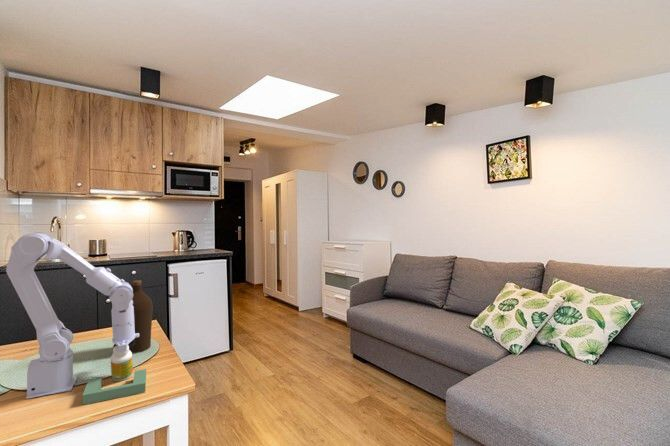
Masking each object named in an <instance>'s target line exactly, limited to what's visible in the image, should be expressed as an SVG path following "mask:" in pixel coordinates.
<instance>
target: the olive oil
mask: <svg viewBox="0 0 670 446" xmlns="http://www.w3.org/2000/svg"><path fill="white" fill-rule="evenodd" d="M142 281H143V280H137V279H136V280H132V281H131V284H130V285H131V287H132V289H133V298H132V300H133V307H134V326H135V333H139V337H137V338H134V339H135V345H134V347H133V349H132V354H136V353H141V352H144V351H147V350H149V349H150V348H151V346H152V345H151V344H152V343H151V342H152V324H153V311H154V305H153V300H152V298H151V297H150V296H149V295H147V294H146V293H145V292H144V291H143V290H142V289H143V284H142Z"/></svg>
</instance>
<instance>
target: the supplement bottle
mask: <svg viewBox="0 0 670 446" xmlns="http://www.w3.org/2000/svg"><path fill="white" fill-rule="evenodd" d="M133 364H134V363H133V353H132V352H131V351H130V350H129V346H128V345H127V351H123V352H119V351H118V346H115V347H114V348H112V355H111V356H110V369H111V370H110V372H111V379H112V380H113V381H115V382H122V381H125V380H127V379H129V378H130V377H131V376H132V375H133V374H134V373H133V372H134V370H133V368H134V367H133Z"/></svg>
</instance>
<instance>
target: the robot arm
mask: <svg viewBox="0 0 670 446" xmlns="http://www.w3.org/2000/svg"><path fill="white" fill-rule="evenodd" d="M42 257H44V259H50V260H51V259H53V260H60V261H62V262H63V263H65V264H66V265H67V266H69V267H71V268H72V269H74V270H75V271H77V272H79V273H80V274H81V275H84V276H85V282H86V283H87V284H88V285H89V286H91V287H93V288H94V289H95V290H97V291H98V292H100V293H101V294H102V295H104V296H108V298H109V301H110V303H111V305H112V308H111V311H110V312H111V328H112V338H111V339H112V343H113V346H112V347H113V348H114V347H115V346H118V351H119V352H123V351H127V345H128V346H129V350H130V351H131V352H132V349H133V347H134V345H135V339H134V338H137V337H139V333H135V326H134V307H133V300H132V298H133V289H132V287H131V285H132V284H130V283H129V282H127V281H125V280H124V279H123V278H119V277H118V276H116V275H115V274H113V273H112V270H111V268H109V267H107V268H105V267H104V266H98V267H95V266H94V264H93V265H92V264H91V263H90V262H89V261H87V260H86V259H85V258H83V257H82V256H81V255H79V254H78V253H77V252H75V251H74V250H73V249H72V248H70V247H69V246H68V245H66V244H65V243H63V242H61V241H60V240H58V239H57V238H53V237H52V236H51V235H50V234H48V233H46V232H40V231H39V232H33V233H28V234H25V235H21V237H20V238H18V239H17V241H15V242H14V244H13V245H11V248H10V255H9V257H8V262H7V264H6V268H5V271H6V274H7V277H8V279H9V280H10V281H11V284H12V286H13V287H14V289H15V291H16V294H17V295H18V298H19V299H20V301H21V303H22V306H23V307H24V309H25V311H26V313H27V315H28V317H29V319H30V320H31V323H32V325H33V327H34V329H35V330H36V332H35V333H36V341H37V343H38V346H39V347H38V355H39V358H35V359H31V360H30V362H29V364H28V366H27V372H26V373H27V374H26V375H27V376H26V397H25V399H33V398H38V397H42V396H47V395H48V396H49V395H53V394H59V393H65V392H70V391H72V390H73V387H74V386H75V383H76V381H77V380H78V376H74V350H72V349H71V347H70V346H71V344H72V343H73V340H74V335H73V332H72V331H71V329H68V328H66V326H65V325H64V323H63V322H62V321H61V320H59V318H58V316H57V314H56V312H55V310H54V308H53V306H52V304H51V302H50V300H49V298H48V296H47V294H46V291H45V290H44V288H43V286H42V284H41V282H40V280H39V278H38V276H37V274H36V272H35V267H36V266H37V264H38V263H39V261H40V260H41V259H42ZM113 348H112V349H113Z"/></svg>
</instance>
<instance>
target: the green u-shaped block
mask: <svg viewBox="0 0 670 446" xmlns="http://www.w3.org/2000/svg"><path fill="white" fill-rule="evenodd" d="M133 372H134V373H133V380H132V382H131V383H127V384H121V385H117V386H116V385H115V386H112V387H106V388H102V386H103V376H99V377H94V378H93V377H92V378H89V379H88V381H87V382H86V386H85V388H84V391H83V394H82V395H81V396H82V406H83V405H84V406H85V405H90V404H94V403H95V404H96V403H99V402H103V401H108V400H113V399H117V398H118V399H119V398H122V397H127V396H128V397H129V396H132V395H136V394H141V393H145V392H146V384H147V368H145V369H139V370H138V369H137V370H135V371H133Z"/></svg>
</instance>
